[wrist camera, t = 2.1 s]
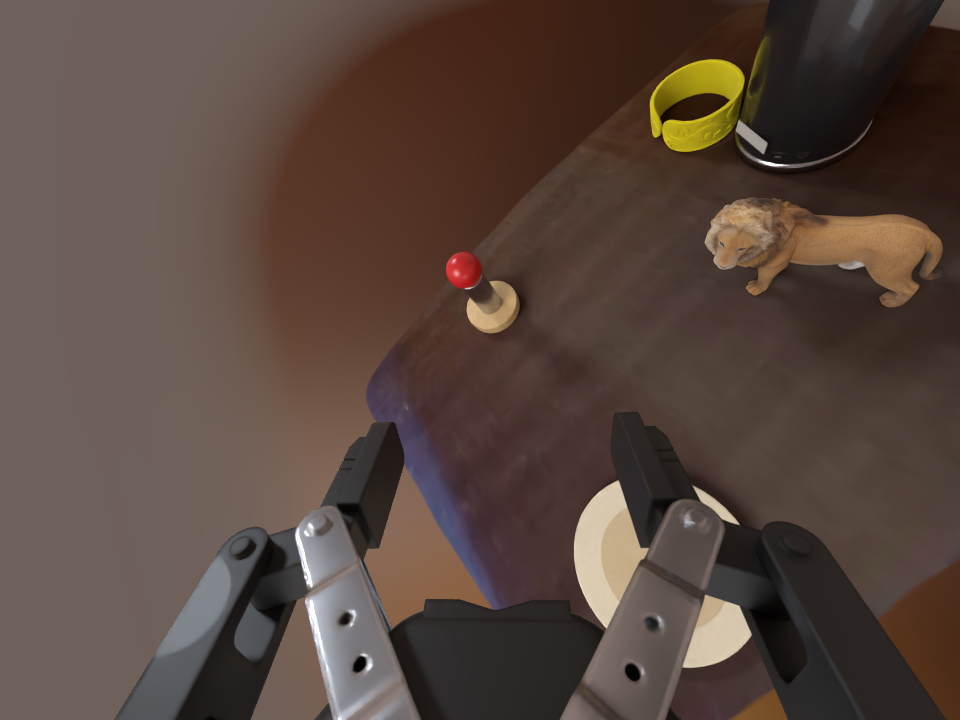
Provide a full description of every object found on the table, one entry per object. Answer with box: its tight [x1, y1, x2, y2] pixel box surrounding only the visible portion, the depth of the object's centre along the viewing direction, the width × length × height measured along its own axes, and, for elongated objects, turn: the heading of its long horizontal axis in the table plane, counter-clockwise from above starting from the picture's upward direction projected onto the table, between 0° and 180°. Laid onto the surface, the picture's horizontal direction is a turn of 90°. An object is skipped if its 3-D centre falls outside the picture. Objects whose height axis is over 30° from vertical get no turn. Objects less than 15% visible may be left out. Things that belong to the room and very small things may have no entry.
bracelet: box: [650, 59, 744, 152], centre depth 36 cm, size 7×8×3 cm
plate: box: [574, 480, 752, 668], centre depth 26 cm, size 12×12×1 cm
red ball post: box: [446, 252, 520, 333], centre depth 35 cm, size 6×6×9 cm
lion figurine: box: [705, 198, 943, 307], centre depth 25 cm, size 15×5×9 cm, turn 77°
